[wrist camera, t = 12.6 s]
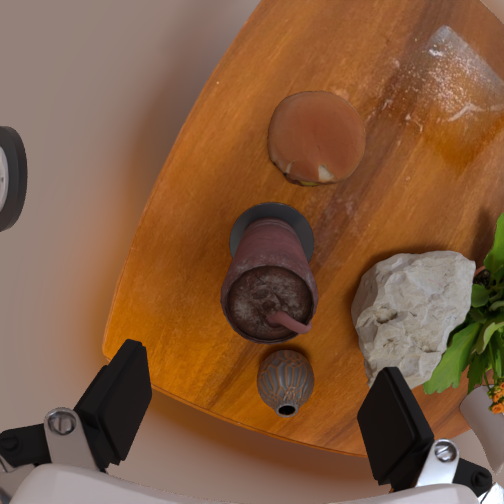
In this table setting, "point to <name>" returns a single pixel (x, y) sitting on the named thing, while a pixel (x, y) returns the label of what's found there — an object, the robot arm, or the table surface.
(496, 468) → the candle
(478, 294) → the potted flower
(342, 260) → the table surface
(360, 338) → the stone
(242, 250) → the can
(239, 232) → the coaster
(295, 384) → the vase
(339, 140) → the burger
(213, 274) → the table surface
